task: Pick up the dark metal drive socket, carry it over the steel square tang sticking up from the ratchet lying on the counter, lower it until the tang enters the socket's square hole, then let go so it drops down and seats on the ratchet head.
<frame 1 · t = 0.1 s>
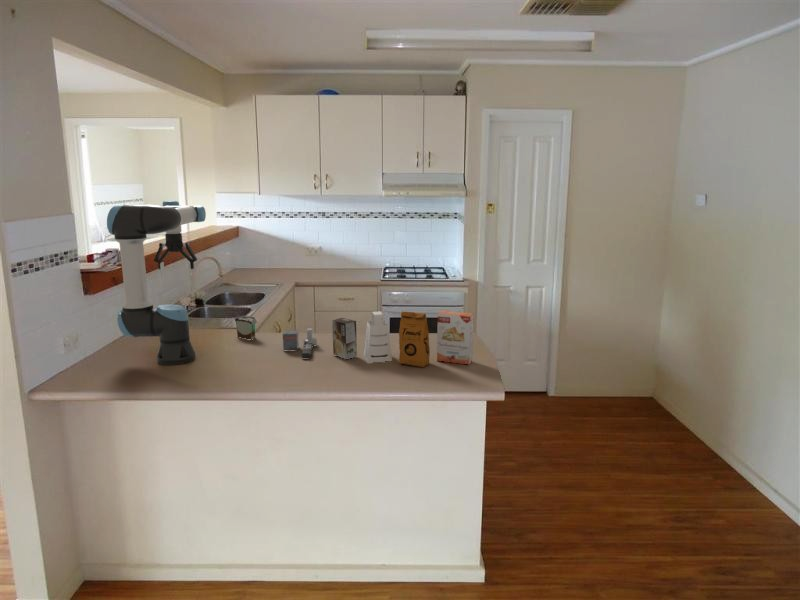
hand: (177, 275, 277), 28 cm above the countertop, tool pointing down, fingers open, 13 cm apart
socket: (291, 349, 250), on the countertop
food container: (249, 338, 269), on the countertop
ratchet: (310, 345, 256), on the countertop
cracker box: (454, 362, 233), on the countertop
grater: (377, 359, 237), on the countertop
coffee box: (345, 356, 240), on the countertop
coffee package: (414, 364, 230), on the countertop
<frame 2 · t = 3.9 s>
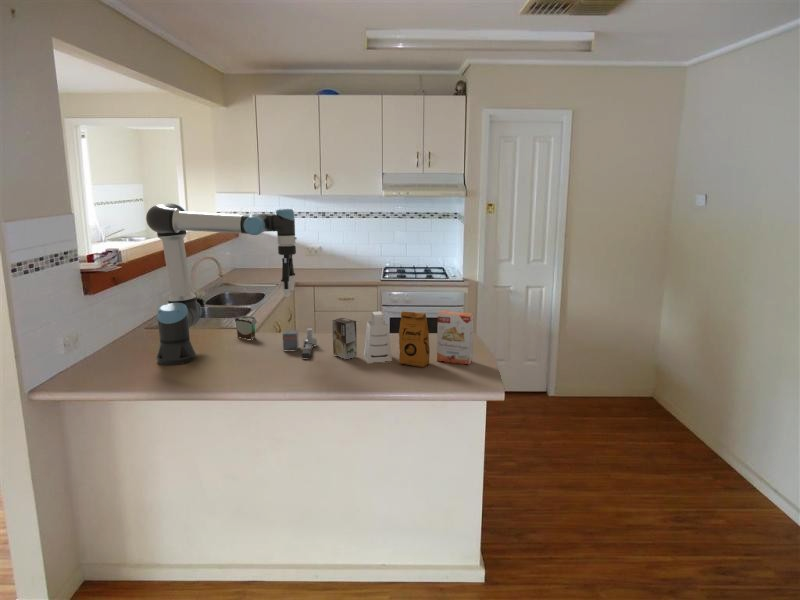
hand: (289, 293, 245), 26 cm above the countertop, tool pointing down, fingers open, 13 cm apart
nothing on the countertop moved.
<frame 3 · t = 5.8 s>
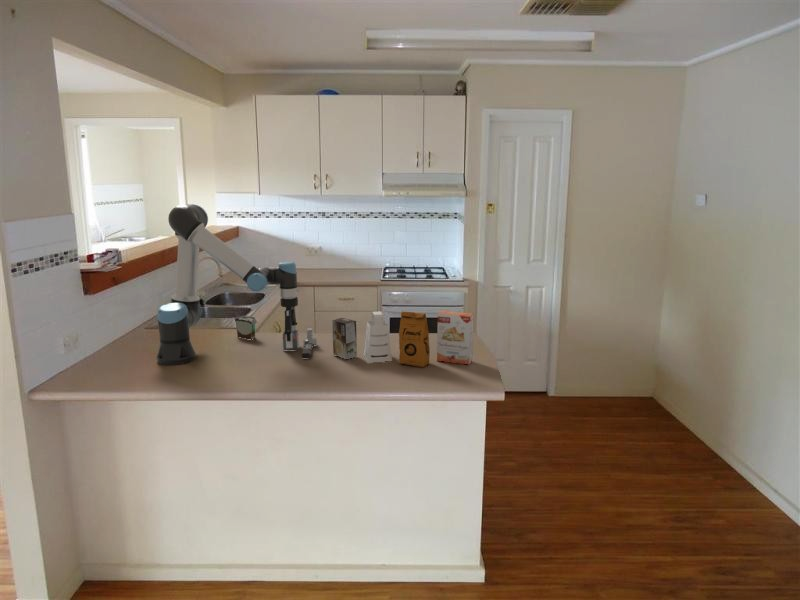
hand: (291, 343, 250), 3 cm above the countertop, tool pointing down, fingers open, 13 cm apart
nothing on the countertop moved.
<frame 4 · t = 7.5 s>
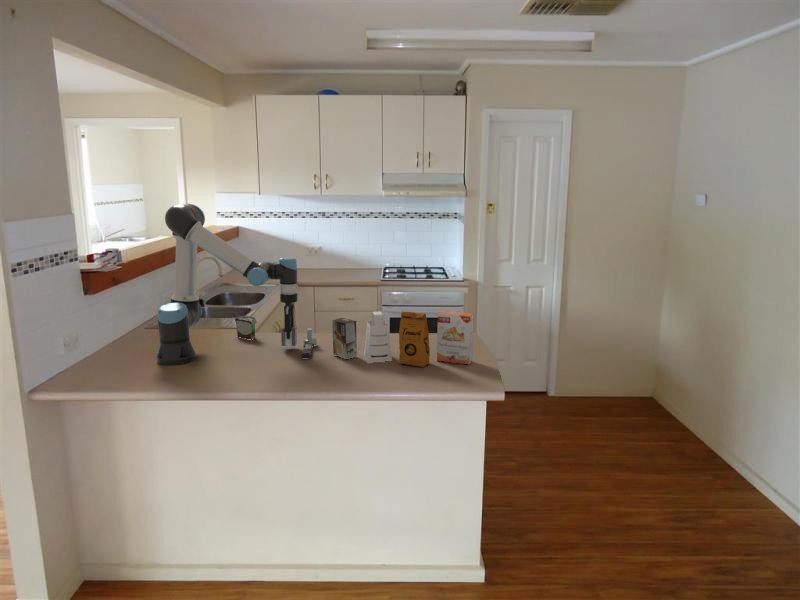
hand: (289, 343, 250), 3 cm above the countertop, tool pointing down, fingers closed on socket, 6 cm apart
socket: (289, 344, 250), point 3 cm above the countertop, touching gripper
everything else where it was.
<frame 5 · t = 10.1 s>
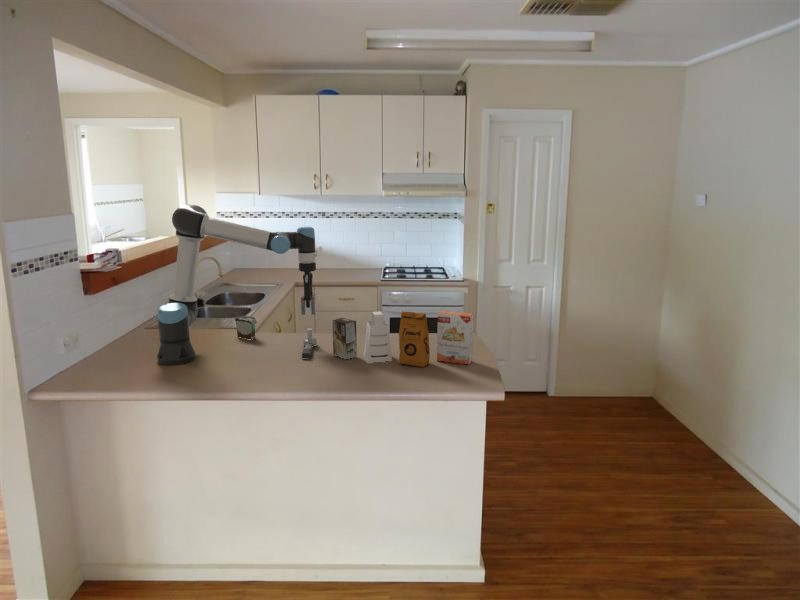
hand: (309, 312, 252), 16 cm above the countertop, tool pointing down, fingers closed on socket, 6 cm apart
socket: (308, 313, 252), point 15 cm above the countertop, touching gripper
everything else where it was.
when the fingers open (6 cm above the countertop, at t = 12.9 s): socket drops 3 cm, resting on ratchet.
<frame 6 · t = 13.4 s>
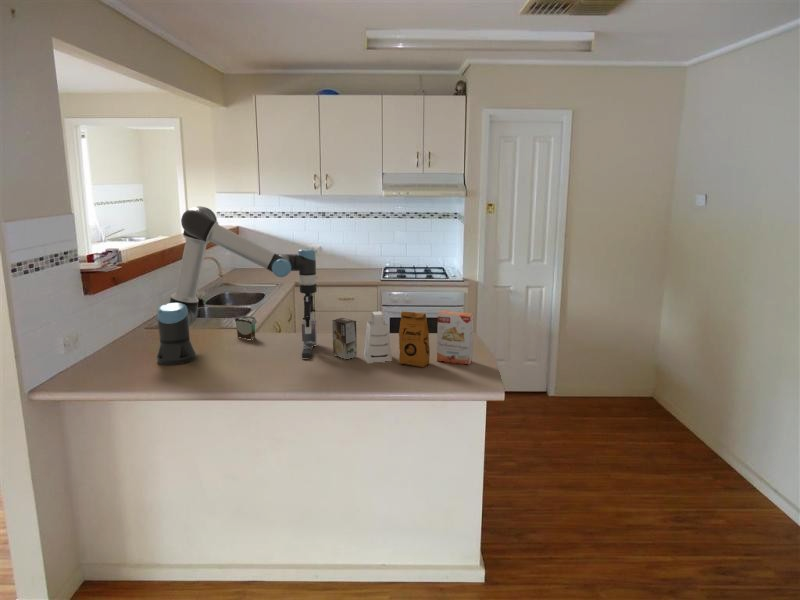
hand: (309, 329, 254), 8 cm above the countertop, tool pointing down, fingers open, 13 cm apart
socket: (309, 339, 255), point 3 cm above the countertop, touching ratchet
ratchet: (310, 345, 256), on the countertop, touching socket
everything else where it was.
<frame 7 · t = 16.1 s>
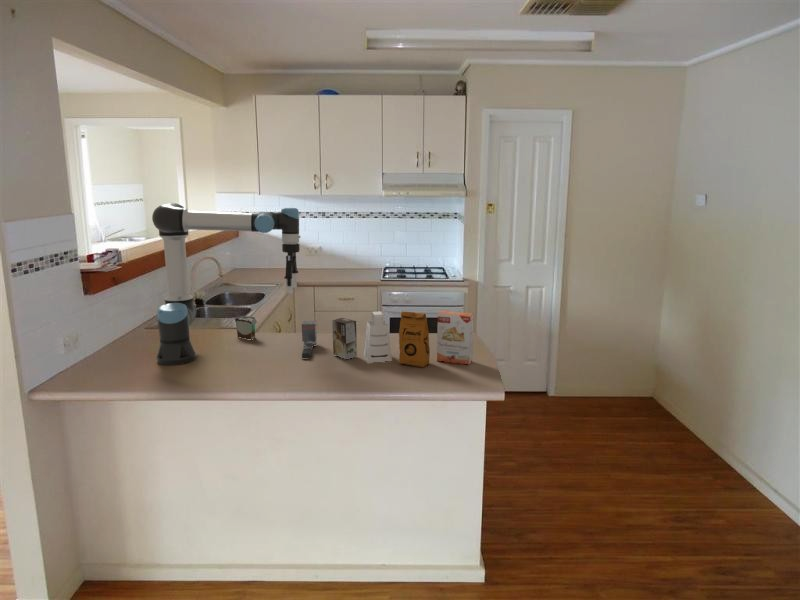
hand: (291, 290, 251), 26 cm above the countertop, tool pointing down, fingers open, 13 cm apart
nothing on the countertop moved.
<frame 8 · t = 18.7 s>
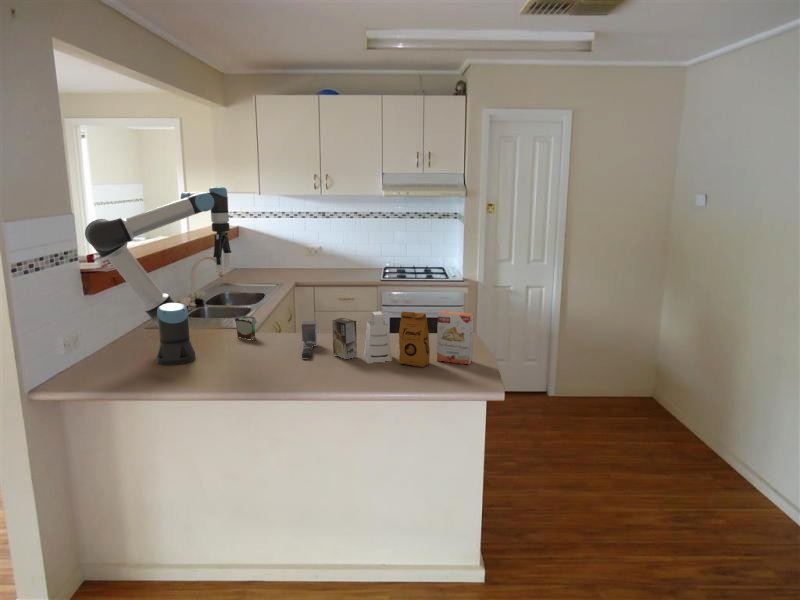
hand: (223, 269, 253), 35 cm above the countertop, tool pointing down, fingers open, 13 cm apart
nothing on the countertop moved.
at the end: socket 0.4 cm from the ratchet (horizontally); socket point 3.0 cm above the countertop; the gripper is holding nothing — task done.
